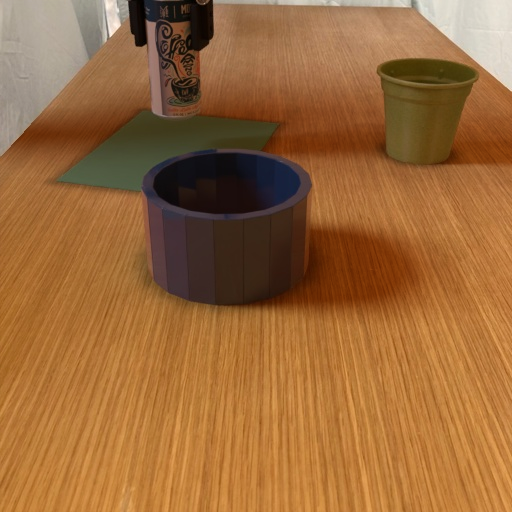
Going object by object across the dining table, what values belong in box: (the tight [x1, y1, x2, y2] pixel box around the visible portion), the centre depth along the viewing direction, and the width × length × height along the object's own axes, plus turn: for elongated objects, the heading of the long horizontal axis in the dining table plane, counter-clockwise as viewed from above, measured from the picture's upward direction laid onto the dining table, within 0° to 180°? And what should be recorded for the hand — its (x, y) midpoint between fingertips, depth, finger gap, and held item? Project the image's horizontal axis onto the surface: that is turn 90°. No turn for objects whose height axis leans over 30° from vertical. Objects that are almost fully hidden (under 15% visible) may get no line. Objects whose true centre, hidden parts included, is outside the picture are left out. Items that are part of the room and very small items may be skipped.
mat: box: [55, 109, 280, 193], centre depth 69 cm, size 16×20×1 cm
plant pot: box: [376, 57, 480, 165], centre depth 67 cm, size 9×9×9 cm
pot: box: [140, 149, 313, 306], centre depth 49 cm, size 12×12×7 cm
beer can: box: [143, 0, 203, 120], centre depth 64 cm, size 5×5×12 cm
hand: (172, 43), depth 64 cm, fingers closed on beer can, 4 cm apart
